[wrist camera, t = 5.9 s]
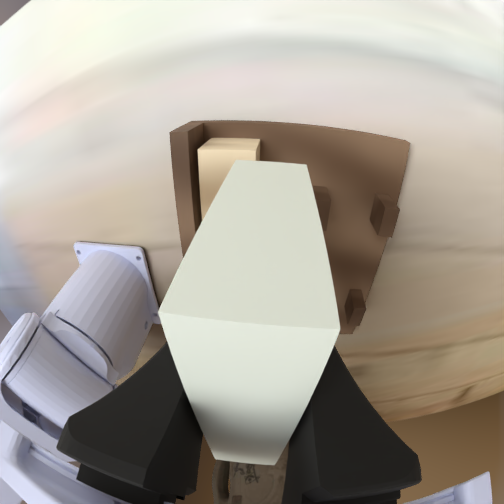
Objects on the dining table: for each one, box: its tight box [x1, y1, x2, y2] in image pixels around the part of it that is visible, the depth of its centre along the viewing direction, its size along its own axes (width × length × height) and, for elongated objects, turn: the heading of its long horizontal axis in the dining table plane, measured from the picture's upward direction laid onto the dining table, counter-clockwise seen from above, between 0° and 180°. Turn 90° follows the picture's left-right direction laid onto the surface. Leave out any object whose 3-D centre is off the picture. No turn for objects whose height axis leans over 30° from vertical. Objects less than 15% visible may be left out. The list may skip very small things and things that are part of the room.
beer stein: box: [212, 441, 289, 504], centre depth 25 cm, size 15×11×20 cm
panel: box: [158, 160, 340, 465], centre depth 10 cm, size 10×3×8 cm, turn 179°
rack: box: [170, 120, 410, 334], centre depth 19 cm, size 18×14×4 cm
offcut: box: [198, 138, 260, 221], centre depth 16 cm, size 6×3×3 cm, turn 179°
